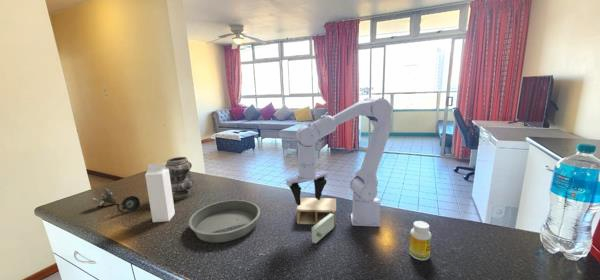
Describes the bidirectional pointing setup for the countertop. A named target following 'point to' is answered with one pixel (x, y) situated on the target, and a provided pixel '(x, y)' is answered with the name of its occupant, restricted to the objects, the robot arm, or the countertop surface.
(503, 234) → the countertop surface
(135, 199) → the artificial flower
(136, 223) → the countertop surface
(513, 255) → the countertop surface
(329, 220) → the door
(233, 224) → the cake pan
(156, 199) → the milk
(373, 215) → the robot arm
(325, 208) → the cabinet
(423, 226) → the supplement bottle
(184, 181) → the carved stone vase
